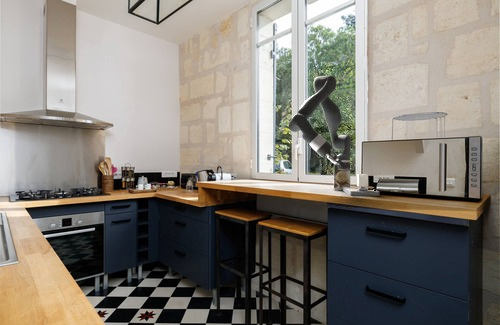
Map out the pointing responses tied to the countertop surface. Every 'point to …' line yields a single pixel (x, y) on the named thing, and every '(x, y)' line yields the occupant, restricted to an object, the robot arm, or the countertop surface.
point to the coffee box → (342, 177)
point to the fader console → (361, 192)
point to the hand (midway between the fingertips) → (344, 168)
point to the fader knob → (362, 181)
